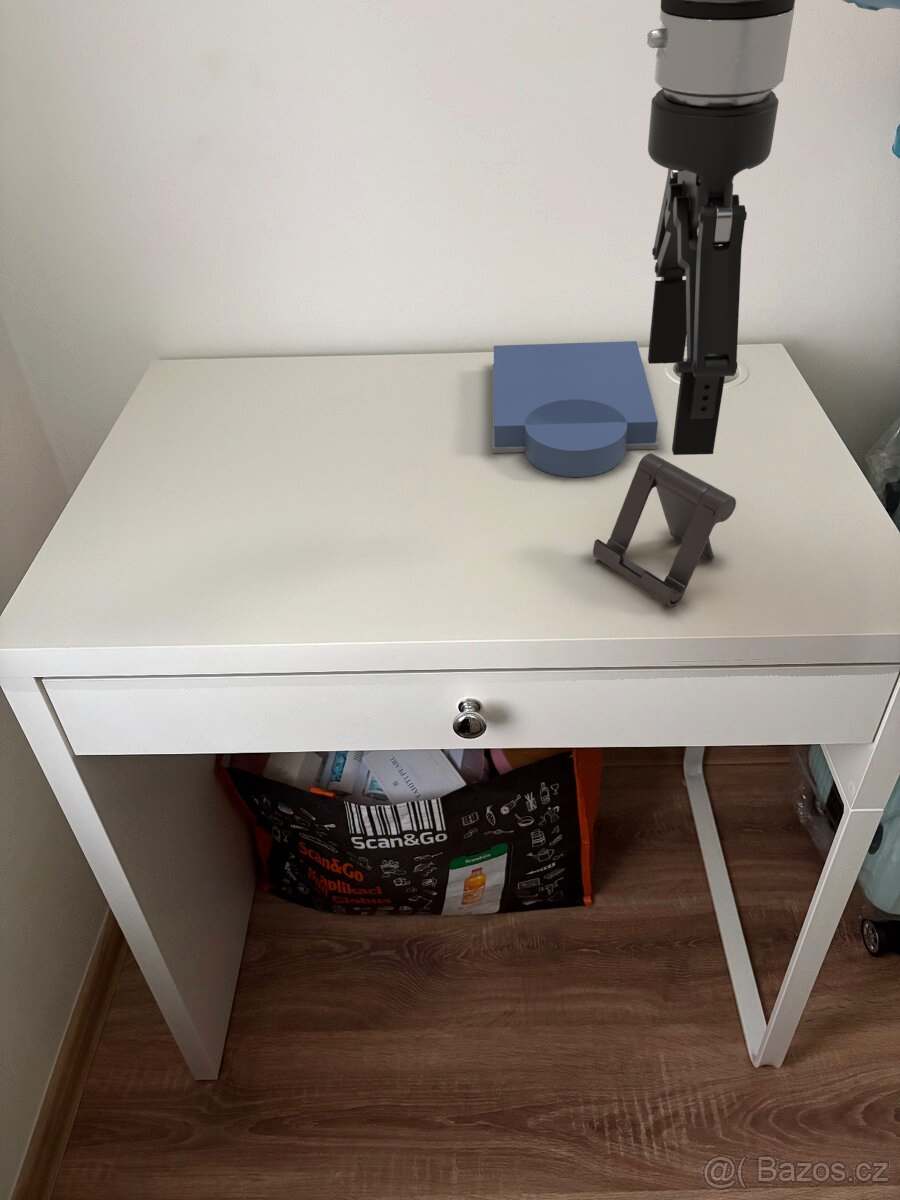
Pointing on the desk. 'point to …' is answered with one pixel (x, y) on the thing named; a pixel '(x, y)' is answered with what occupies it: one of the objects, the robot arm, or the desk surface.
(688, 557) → the tablet stand
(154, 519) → the desk surface
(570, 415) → the blue square with disc
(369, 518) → the desk surface
